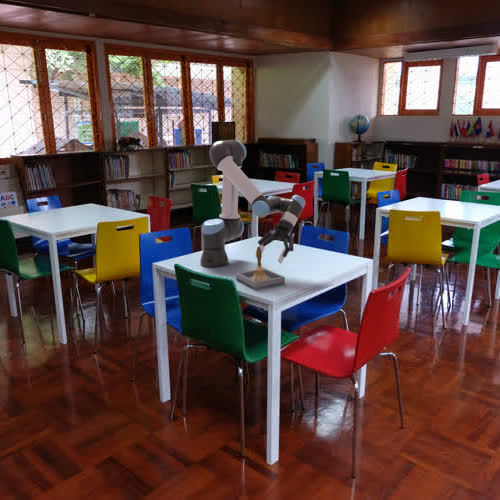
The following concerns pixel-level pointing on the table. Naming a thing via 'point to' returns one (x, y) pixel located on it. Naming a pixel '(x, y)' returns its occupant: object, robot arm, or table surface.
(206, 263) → the robot arm
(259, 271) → the hand bell
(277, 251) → the table surface
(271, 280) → the tray
